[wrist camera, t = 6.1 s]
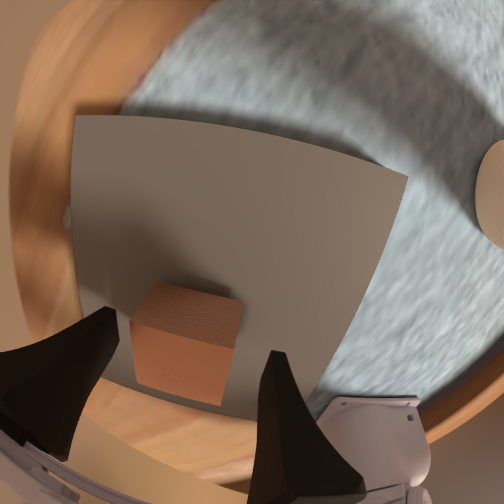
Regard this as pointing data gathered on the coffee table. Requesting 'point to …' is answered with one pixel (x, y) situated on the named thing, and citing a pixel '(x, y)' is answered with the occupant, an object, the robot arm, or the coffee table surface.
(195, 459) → the coffee table surface
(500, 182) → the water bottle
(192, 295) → the orange rectangular block
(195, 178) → the base
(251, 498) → the robot arm
